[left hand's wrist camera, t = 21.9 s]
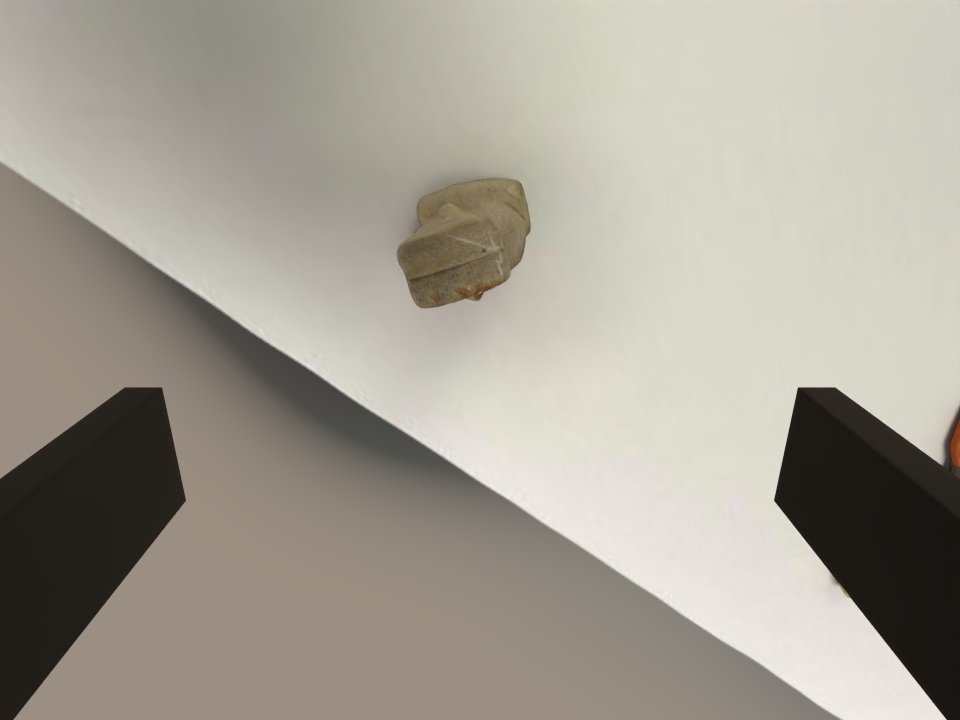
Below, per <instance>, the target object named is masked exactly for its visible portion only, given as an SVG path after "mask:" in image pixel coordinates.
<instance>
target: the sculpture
mask: <svg viewBox="0 0 960 720" xmlns="http://www.w3.org/2000/svg"><path fill="white" fill-rule="evenodd" d="M417 215H418V220H419V222H420V224H421V225H422V226H421V227H420V228H419V229H418V230H417V231H416V232H415V233H414V234H413V235H412V237H411V238H409V239H408V240H406V241H405V242H403V243H402V244H401V245H400V246H399V247H398V250H397V257H398V262H399V265H400V266H401V268H402V269H403V271H404V273H405V276H406V279H407V283H408V286H409V290H410V293H411V296H412V298H413V300H414V302H415V303H416V305H417V306H418V307H420V308H433V307H438V306H442V305H446V304H449V303H454V302H457V301H460V300H462V299H465V298H467V299H470V300H474V301H479V300H480V299H481V297H482V295H483V293H484V292H485V291H488V290H490V289H492V288H494V287H496V286H498V285H500V284H502V283H503V282H505V281H506V280H507V279H508V278H509V277H510V271H511V270H512V269H513V268H514V267H515V266H516V265H517V264H518V263H519V262H520V261H521V259H522V256H523V252H524V247H525V240H526V236H527V235H528V234H529V233H530V229H531V228H530V227H531V224H530V217H529V211H528V206H527V202H526V198H525V194H524V191H523V187H522V185H521V183H520V182H519V181H516V180H511V179H501V178H492V179H483V180H477V181H472V182H467V183H458V184H453V185H451V186H450V187H448V188H446V189H443V190H440V191H437V192H435V193H432V194H429V195H427V196H424V197H422V198H421V199H420V200H419V202H418V205H417Z"/></svg>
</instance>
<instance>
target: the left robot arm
mask: <svg viewBox="0 0 960 720" xmlns="http://www.w3.org/2000/svg"><path fill="white" fill-rule="evenodd" d="M185 501H186V499H185V494H184V489H183V485H182V480H181V475H180V470H179V466H178V461H177V456H176V452H175V447H174V442H173V437H172V433H171V428H170V423H169V418H168V414H167V409H166V404H165V399H164V395H163V390H162V388H124V389H122V390H121V391H119V392H118V393H117V394H115V395H114V396H113V397H111V398H110V399H109V400H107V401H106V402H104V403H103V404H102V405H100V406H99V407H98V408H96V409H95V410H94V411H92V412H91V413H89V414H88V415H87V416H85V417H84V418H83V419H81V420H80V421H79V422H77V423H76V424H75V425H73V426H72V427H70V428H69V429H68V430H66V431H65V432H63V433H62V434H61V435H59V436H58V437H57V438H55V439H54V440H53V441H51V442H50V443H48V444H47V445H46V446H44V447H43V448H42V449H40V450H39V451H38V452H36V453H35V454H33V455H32V456H31V457H29V458H28V459H27V460H25V461H24V462H23V463H21V464H20V465H18V466H17V467H16V468H14V469H13V470H12V471H10V472H9V473H8V474H6V475H5V476H3V477H2V478H1V479H0V720H13V719H14V718H15V717H16V716H17V714H18V713H19V712H20V710H21V709H22V708H23V707H24V705H25V704H26V703H27V702H28V700H29V699H30V698H31V696H32V695H33V694H34V693H35V691H36V690H37V689H38V688H39V686H40V685H41V684H42V683H43V681H44V680H45V679H46V678H47V676H48V675H49V674H50V672H51V671H52V670H53V669H54V667H55V666H56V665H57V663H58V662H59V661H60V660H61V658H62V657H63V656H64V655H65V653H66V652H67V651H68V650H69V648H70V647H71V646H72V644H73V643H74V642H75V641H76V639H77V638H78V637H79V636H80V634H81V633H82V632H83V631H84V629H85V628H86V627H87V625H88V624H89V623H90V622H91V620H92V619H93V618H94V617H95V615H96V614H97V613H98V612H99V610H100V609H101V608H102V606H103V605H104V604H105V603H106V601H107V600H108V599H109V598H110V596H111V595H112V594H113V592H114V591H115V590H116V589H117V587H118V586H119V585H120V584H121V582H122V581H123V580H124V578H125V577H126V576H127V575H128V573H129V572H130V571H131V570H132V568H133V567H134V566H135V564H136V563H137V562H138V561H139V559H140V558H141V557H142V556H143V554H144V553H145V552H146V551H147V549H148V548H149V547H150V545H151V544H152V543H153V542H154V540H155V539H156V538H157V537H158V535H159V534H160V533H161V531H162V530H163V529H164V528H165V526H166V525H167V524H168V523H169V521H170V520H171V519H172V517H173V516H174V515H175V514H176V512H177V511H178V510H179V509H180V507H181V506H182V505H183V504H184V502H185ZM774 501H775V502H776V504H777V505H778V506H779V507H780V509H781V510H782V511H783V512H784V514H785V515H786V516H787V518H788V519H789V520H790V521H791V523H792V524H793V525H794V526H795V528H796V529H797V530H798V532H799V533H800V534H801V535H802V537H803V538H804V539H805V540H806V542H807V543H808V544H809V546H810V547H811V548H812V549H813V551H814V552H815V553H816V554H817V556H818V557H819V558H820V559H821V561H822V562H823V563H824V565H825V566H826V567H827V568H828V570H829V571H830V572H831V573H832V575H833V576H834V577H835V579H836V580H837V581H838V582H839V584H840V585H841V586H842V587H843V589H844V590H845V591H846V592H847V594H848V595H849V596H850V598H851V599H852V600H853V601H854V603H855V604H856V605H857V606H858V608H859V609H860V610H861V612H862V613H863V614H864V615H865V617H866V618H867V619H868V620H869V622H870V623H871V624H872V625H873V627H874V628H875V629H876V631H877V632H878V633H879V634H880V636H881V637H882V638H883V639H884V641H885V642H886V643H887V645H888V646H889V647H890V648H891V650H892V651H893V652H894V653H895V655H896V656H897V657H898V658H899V660H900V661H901V662H902V664H903V665H904V666H905V667H906V669H907V670H908V671H909V672H910V674H911V675H912V676H913V678H914V679H915V680H916V681H917V683H918V684H919V685H920V686H921V688H922V689H923V690H924V691H925V693H926V694H927V695H928V697H929V698H930V699H931V700H932V702H933V703H934V704H935V705H936V707H937V708H938V709H939V711H940V712H941V713H942V714H943V716H944V717H945V718H946V719H947V720H960V479H959V478H958V477H957V476H955V475H954V474H952V473H951V472H950V471H948V470H947V469H946V468H944V467H943V466H942V465H940V464H939V463H937V462H936V461H935V460H933V459H932V458H931V457H929V456H928V455H927V454H925V453H924V452H922V451H921V450H920V449H918V448H917V447H916V446H914V445H913V444H912V443H910V442H909V441H907V440H906V439H905V438H903V437H902V436H901V435H899V434H898V433H897V432H895V431H894V430H892V429H891V428H890V427H888V426H887V425H886V424H884V423H883V422H881V421H880V420H879V419H877V418H876V417H875V416H873V415H872V414H871V413H869V412H868V411H866V410H865V409H864V408H862V407H861V406H860V405H858V404H857V403H856V402H854V401H853V400H851V399H850V398H849V397H847V396H846V395H845V394H843V393H842V392H841V391H839V390H838V389H836V388H798V390H797V395H796V399H795V404H794V409H793V414H792V418H791V423H790V428H789V433H788V437H787V442H786V447H785V451H784V456H783V461H782V466H781V470H780V475H779V480H778V485H777V489H776V494H775V499H774Z"/></svg>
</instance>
